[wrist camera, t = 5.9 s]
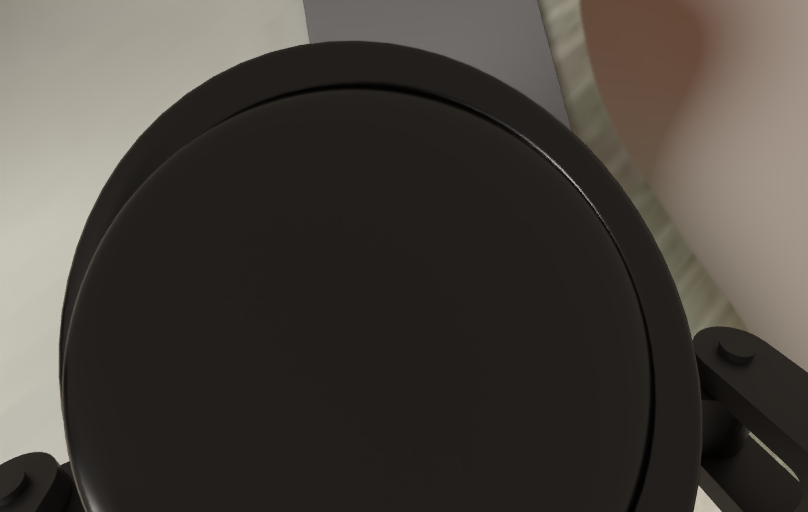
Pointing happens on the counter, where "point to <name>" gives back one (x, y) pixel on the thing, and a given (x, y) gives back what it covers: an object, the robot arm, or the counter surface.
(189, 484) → the lotion bottle
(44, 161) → the counter surface
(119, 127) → the counter surface
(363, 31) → the rubber mat
